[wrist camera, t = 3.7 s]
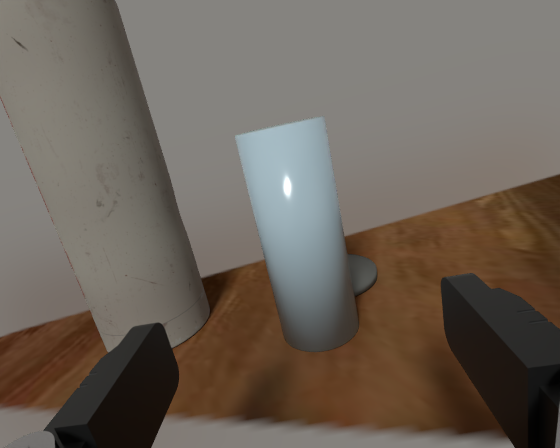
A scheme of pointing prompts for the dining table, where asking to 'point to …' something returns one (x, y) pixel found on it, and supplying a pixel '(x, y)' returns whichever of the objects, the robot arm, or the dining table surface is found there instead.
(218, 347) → the dining table surface
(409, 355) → the dining table surface
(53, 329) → the dining table surface
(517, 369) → the robot arm
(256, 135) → the tall pale blue cylinder
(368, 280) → the coaster
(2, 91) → the thermos bottle
